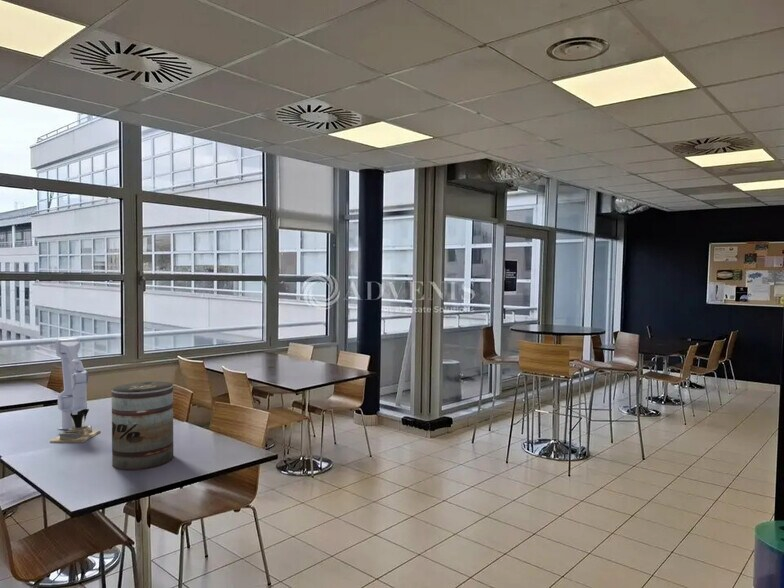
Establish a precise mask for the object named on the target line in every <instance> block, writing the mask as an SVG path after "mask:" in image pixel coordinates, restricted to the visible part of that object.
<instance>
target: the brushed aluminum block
mask: <svg viewBox="0 0 784 588" xmlns="http://www.w3.org/2000/svg"><path fill="white" fill-rule="evenodd" d="M72 426H73V430H82V429H85V426H86V419H85V415H84V416H83V419H82V425H81V428H76V427H75V424H74V421H73V418H72Z"/></svg>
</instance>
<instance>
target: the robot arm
mask: <svg viewBox="0 0 784 588" xmlns="http://www.w3.org/2000/svg"><path fill="white" fill-rule="evenodd" d="M80 350H81V340H80V338H79V337H71V338H57V339H56V340H55V355H56V356H57V357H58V358H60V361H61V368H62V370H61V371H62V382H63V391H61V392H60V393H59V394H58V396H57V407H58V410H59V411H61V426H60V427H58V428H57V430H69V429H71V428H73V426H72V418H73V421H74V424H75V427H76V428H81V425H82V419H83V416H84V415H85V420H86V419H87V415H88V413H89V410H90V409H89V408H88V401H87V400H88V397H87V392H88V391H87V390H88V389H87V388H88V387H87V384H88V383H89V373H88V371H87V370H86V369H85V368H84V365H83V361H81V359H79V355H78V354H79V351H80Z"/></svg>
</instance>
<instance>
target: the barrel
mask: <svg viewBox="0 0 784 588" xmlns="http://www.w3.org/2000/svg"><path fill="white" fill-rule="evenodd" d="M111 452H112V454H111V458H112V461H111V463H112V464H111V465H112V467H113V468H114V469H117V470H121V471H142V470H148V469H153V468H157V467H162V466H164V465H166V464H168V463H170V462H171V461H172V460H174V385H173V383H172V382H169V381H168V382H167V381H155V380H154V381H138V382H130V383H123V384H120V385H116V386H113V387H112V388H111Z"/></svg>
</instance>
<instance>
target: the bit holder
mask: <svg viewBox="0 0 784 588" xmlns="http://www.w3.org/2000/svg"><path fill="white" fill-rule="evenodd" d="M98 434H101V430H93V426H92V425H85V429H82V430H73V428H71V429H67V431H62V432H61V433H59V436H56V437H55V438H52V439H50V440H49V443H50V444H53V443H54V444H55V443H57V444H59V443H60V444H61V443H62V444H63V443H66V444H69V443H71V444H72V443H83V442H86V441H87V440H89V439H91V438H93V437H95V436H98Z"/></svg>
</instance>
